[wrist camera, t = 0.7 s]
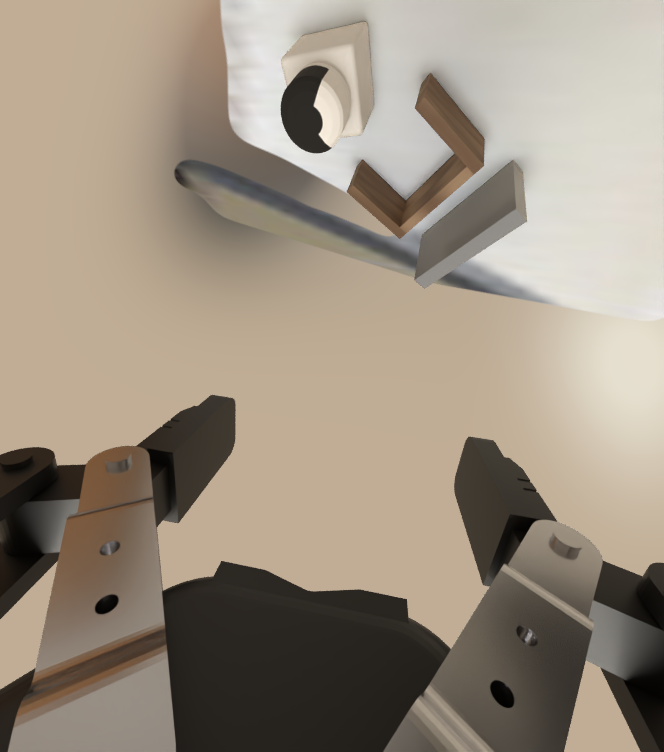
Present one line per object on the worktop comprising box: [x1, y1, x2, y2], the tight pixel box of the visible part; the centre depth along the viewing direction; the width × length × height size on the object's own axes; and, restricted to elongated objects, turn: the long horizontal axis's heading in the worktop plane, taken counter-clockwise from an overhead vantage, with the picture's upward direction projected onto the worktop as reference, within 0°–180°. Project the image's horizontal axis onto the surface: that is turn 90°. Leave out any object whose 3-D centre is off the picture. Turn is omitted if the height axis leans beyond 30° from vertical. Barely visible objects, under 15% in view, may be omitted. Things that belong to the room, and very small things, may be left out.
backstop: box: [414, 161, 527, 288], centre depth 43 cm, size 14×2×10 cm, turn 144°
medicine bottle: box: [281, 22, 374, 153], centre depth 34 cm, size 7×7×12 cm
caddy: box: [347, 74, 485, 239], centre depth 40 cm, size 12×9×6 cm
